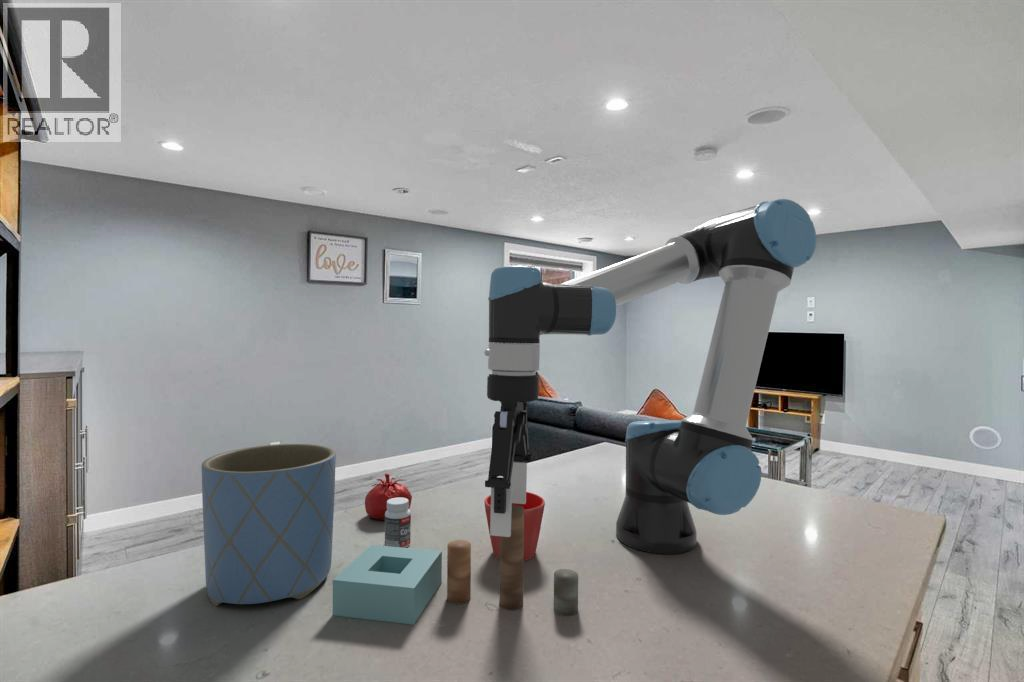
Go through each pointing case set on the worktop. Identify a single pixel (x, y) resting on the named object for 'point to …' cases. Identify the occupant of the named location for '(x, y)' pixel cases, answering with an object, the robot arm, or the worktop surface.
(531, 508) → the flower pot
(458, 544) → the pin medium
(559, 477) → the worktop surface
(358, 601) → the collar
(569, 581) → the pin short
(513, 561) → the pin long
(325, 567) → the planter
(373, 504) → the pomegranate
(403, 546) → the pill bottle
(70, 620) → the worktop surface
